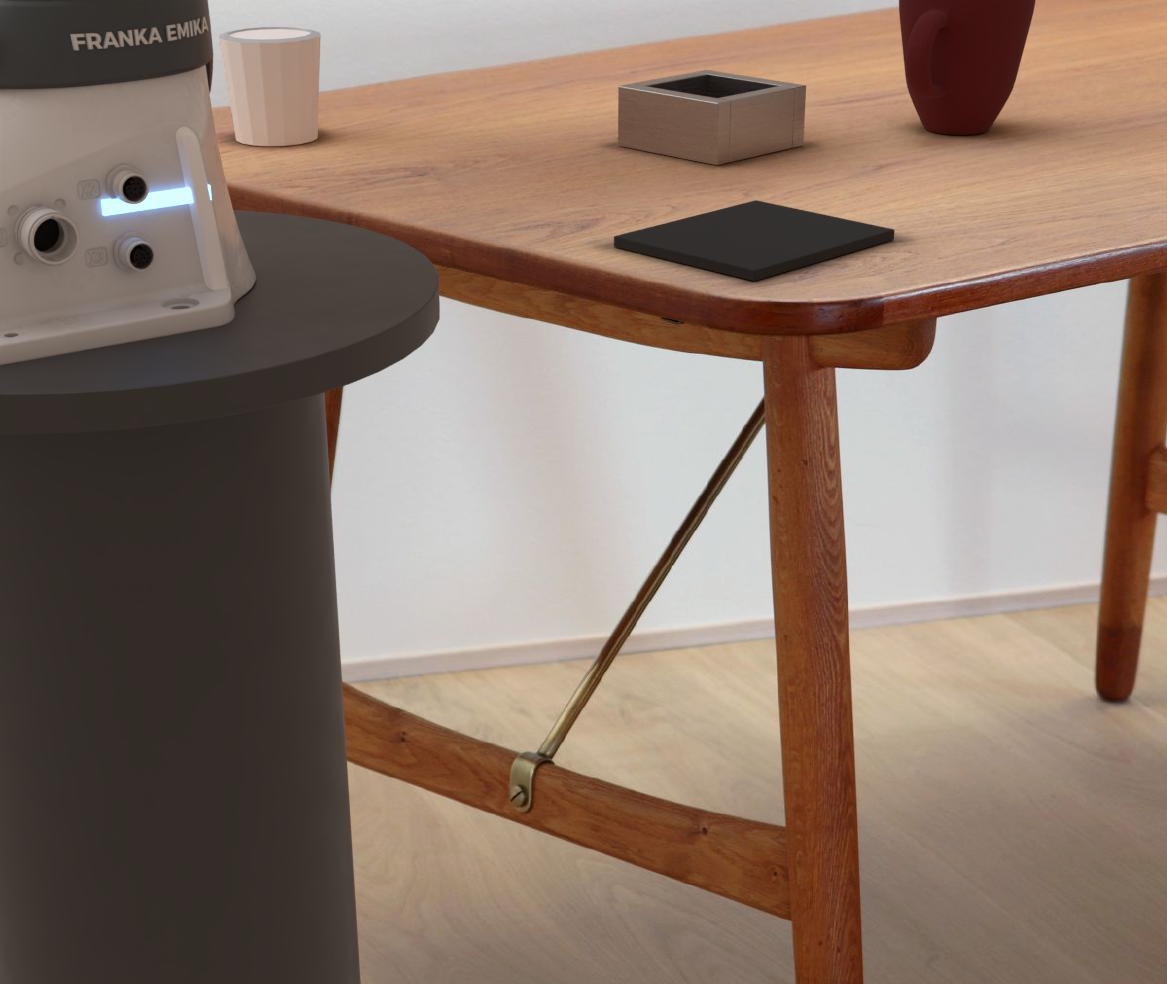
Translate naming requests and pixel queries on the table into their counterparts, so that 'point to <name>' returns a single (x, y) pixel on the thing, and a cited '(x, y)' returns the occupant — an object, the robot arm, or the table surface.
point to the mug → (962, 59)
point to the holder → (711, 116)
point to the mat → (754, 239)
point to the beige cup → (272, 84)
